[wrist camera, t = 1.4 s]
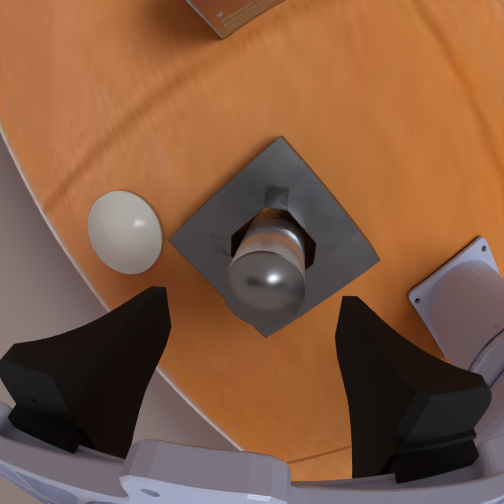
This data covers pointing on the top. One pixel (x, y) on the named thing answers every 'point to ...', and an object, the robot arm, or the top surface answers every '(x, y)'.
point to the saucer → (125, 232)
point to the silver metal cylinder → (268, 271)
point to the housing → (301, 208)
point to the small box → (230, 12)
